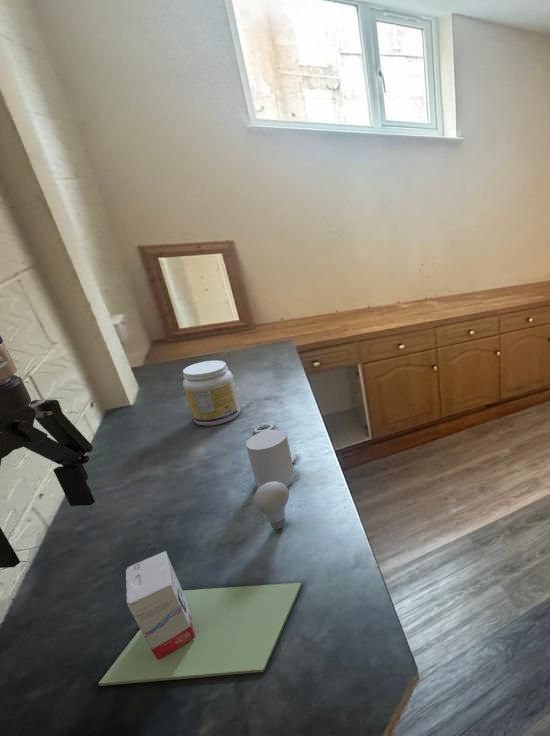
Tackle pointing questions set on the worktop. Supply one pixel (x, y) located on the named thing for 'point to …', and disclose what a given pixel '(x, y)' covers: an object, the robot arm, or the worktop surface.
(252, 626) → the mat
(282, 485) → the lightbulb
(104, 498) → the worktop surface
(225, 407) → the supplement tub
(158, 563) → the ink box
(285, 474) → the cup
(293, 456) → the wrench
